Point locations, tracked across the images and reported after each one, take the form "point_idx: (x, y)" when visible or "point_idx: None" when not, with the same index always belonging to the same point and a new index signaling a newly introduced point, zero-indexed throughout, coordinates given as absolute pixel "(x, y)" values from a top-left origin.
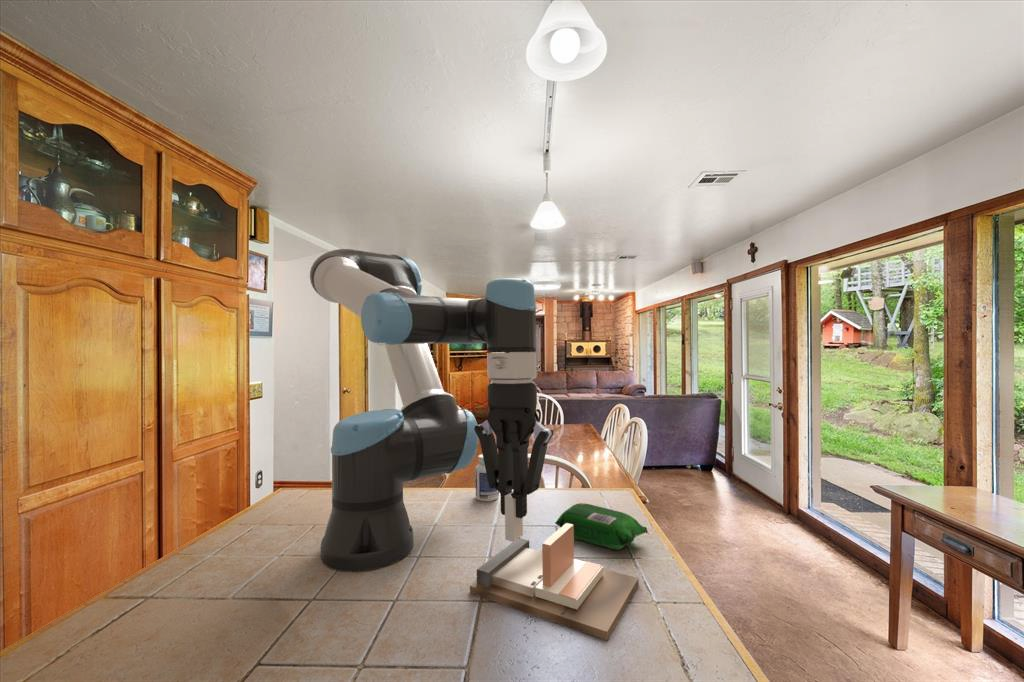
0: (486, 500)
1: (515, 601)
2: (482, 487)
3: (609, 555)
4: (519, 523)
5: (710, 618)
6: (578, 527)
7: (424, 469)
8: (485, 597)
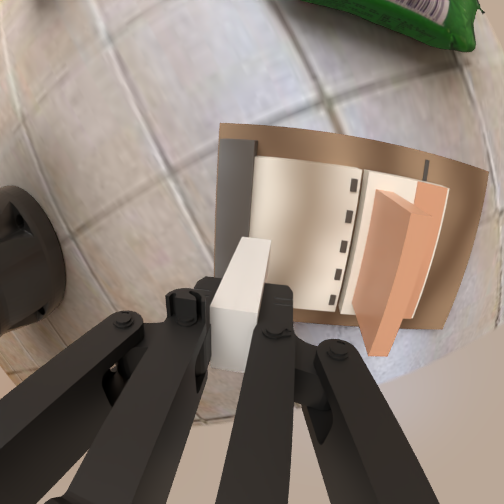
0: None
1: (308, 322)
2: None
3: (420, 62)
4: (266, 275)
5: None
6: (342, 2)
7: None
8: None
